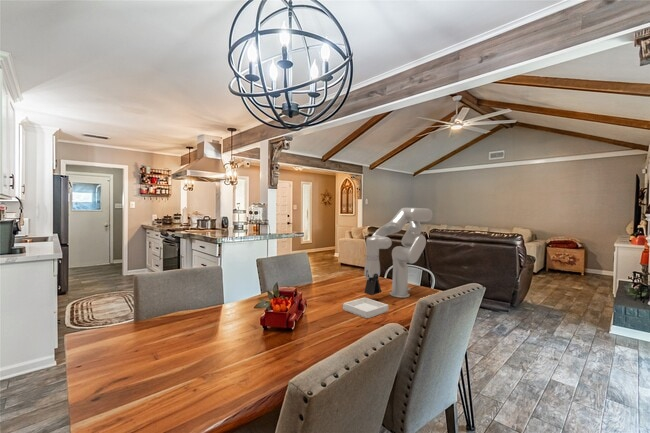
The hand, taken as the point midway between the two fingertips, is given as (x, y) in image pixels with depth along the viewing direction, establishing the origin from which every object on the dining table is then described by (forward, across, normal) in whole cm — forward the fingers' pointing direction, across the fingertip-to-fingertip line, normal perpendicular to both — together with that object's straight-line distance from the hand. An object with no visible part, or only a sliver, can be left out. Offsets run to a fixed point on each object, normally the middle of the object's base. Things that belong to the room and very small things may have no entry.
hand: (372, 287), depth 182 cm
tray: (+7, +18, +9) cm, 21 cm away
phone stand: (+3, 0, 0) cm, 3 cm away
